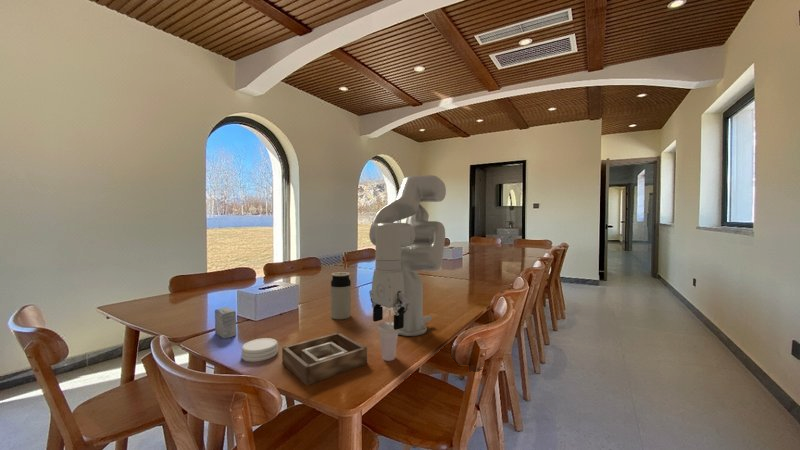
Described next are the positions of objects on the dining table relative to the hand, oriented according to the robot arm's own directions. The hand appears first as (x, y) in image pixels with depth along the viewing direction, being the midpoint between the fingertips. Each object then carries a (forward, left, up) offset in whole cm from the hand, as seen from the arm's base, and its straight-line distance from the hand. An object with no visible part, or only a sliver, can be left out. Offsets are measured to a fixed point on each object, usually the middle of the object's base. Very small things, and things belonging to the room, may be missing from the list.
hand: (387, 324), depth 94 cm
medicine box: (+31, -52, -10) cm, 62 cm away
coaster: (+27, -27, -11) cm, 40 cm away
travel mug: (-10, -43, -10) cm, 46 cm away
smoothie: (-1, 0, -10) cm, 10 cm away
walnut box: (+15, -9, -10) cm, 21 cm away
